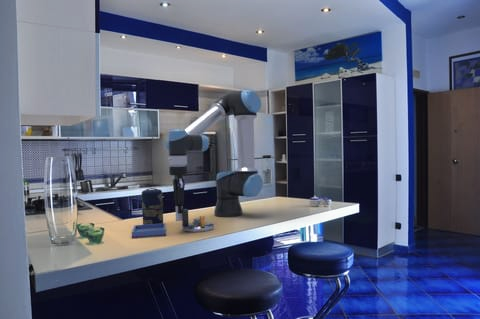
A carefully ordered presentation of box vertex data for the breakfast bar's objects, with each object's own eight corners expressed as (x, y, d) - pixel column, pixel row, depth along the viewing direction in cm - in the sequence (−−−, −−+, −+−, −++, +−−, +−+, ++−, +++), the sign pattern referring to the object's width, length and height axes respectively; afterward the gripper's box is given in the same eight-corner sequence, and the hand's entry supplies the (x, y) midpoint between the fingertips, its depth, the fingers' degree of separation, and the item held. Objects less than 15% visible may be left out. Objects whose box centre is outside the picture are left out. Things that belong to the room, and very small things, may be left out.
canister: (158, 228, 169) (156, 188, 169) (139, 227, 171) (137, 189, 171) (166, 224, 179) (165, 186, 178) (148, 223, 181) (146, 186, 180)
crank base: (212, 224, 174) (211, 210, 173) (216, 230, 160) (215, 215, 160) (181, 226, 171) (181, 212, 171) (183, 233, 157) (182, 218, 157)
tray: (165, 228, 168) (165, 223, 168) (166, 235, 153) (165, 229, 153) (134, 230, 165) (134, 225, 165) (131, 238, 151) (131, 232, 151)
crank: (197, 223, 168) (196, 205, 168) (204, 224, 166) (203, 206, 166) (180, 229, 157) (179, 210, 157) (187, 230, 155) (186, 210, 155)
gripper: (166, 165, 163) (167, 218, 164) (172, 166, 151) (173, 224, 152) (183, 165, 166) (184, 217, 167) (190, 166, 154) (191, 222, 155)
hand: (179, 220), depth 159 cm, fingers closed
